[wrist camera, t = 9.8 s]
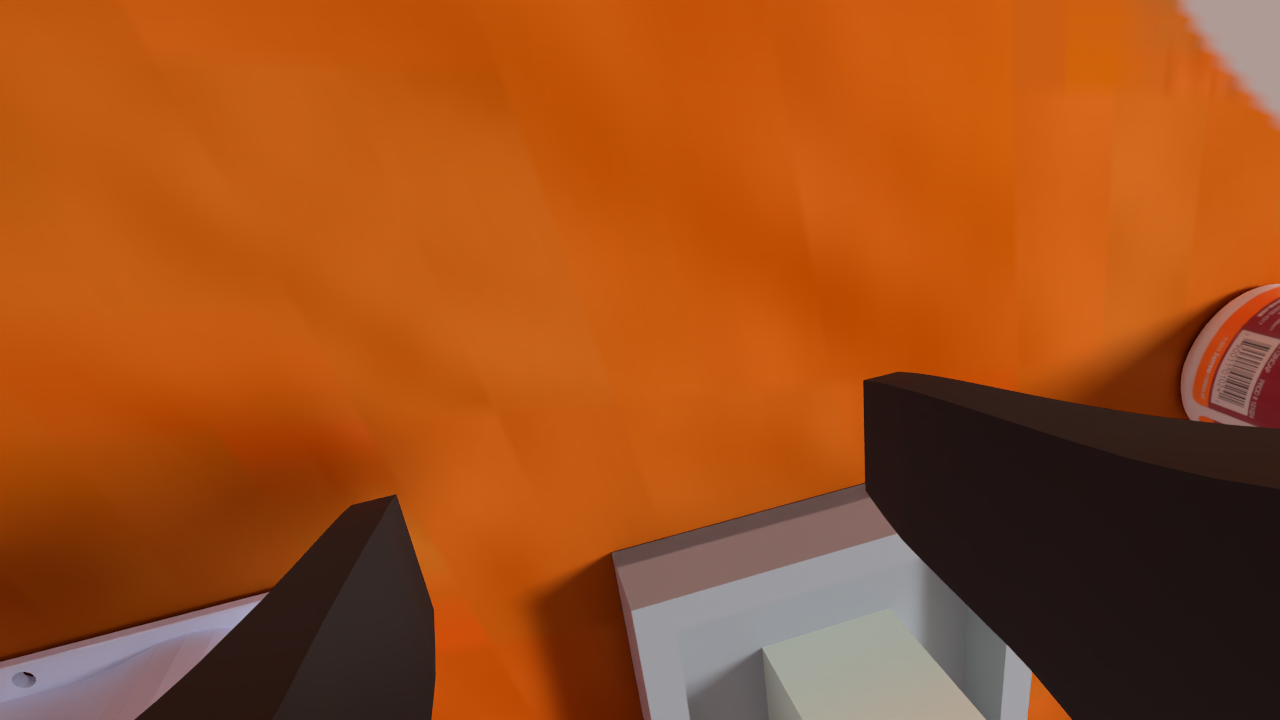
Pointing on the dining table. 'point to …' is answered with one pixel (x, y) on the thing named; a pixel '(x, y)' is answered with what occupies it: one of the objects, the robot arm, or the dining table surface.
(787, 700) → the block
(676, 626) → the tray
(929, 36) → the dining table surface
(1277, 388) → the pill bottle
